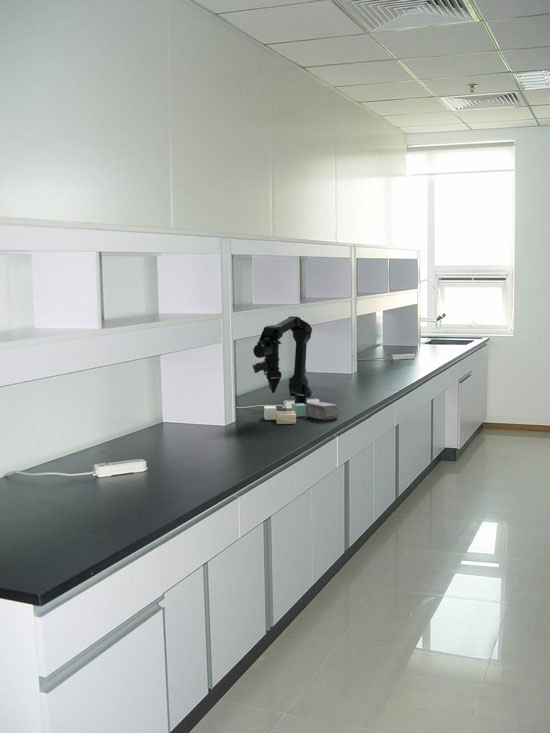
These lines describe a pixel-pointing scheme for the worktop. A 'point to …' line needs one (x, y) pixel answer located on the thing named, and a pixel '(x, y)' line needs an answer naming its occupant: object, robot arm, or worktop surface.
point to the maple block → (285, 417)
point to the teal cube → (299, 409)
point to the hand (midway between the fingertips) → (272, 391)
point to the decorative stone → (322, 410)
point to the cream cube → (270, 412)
